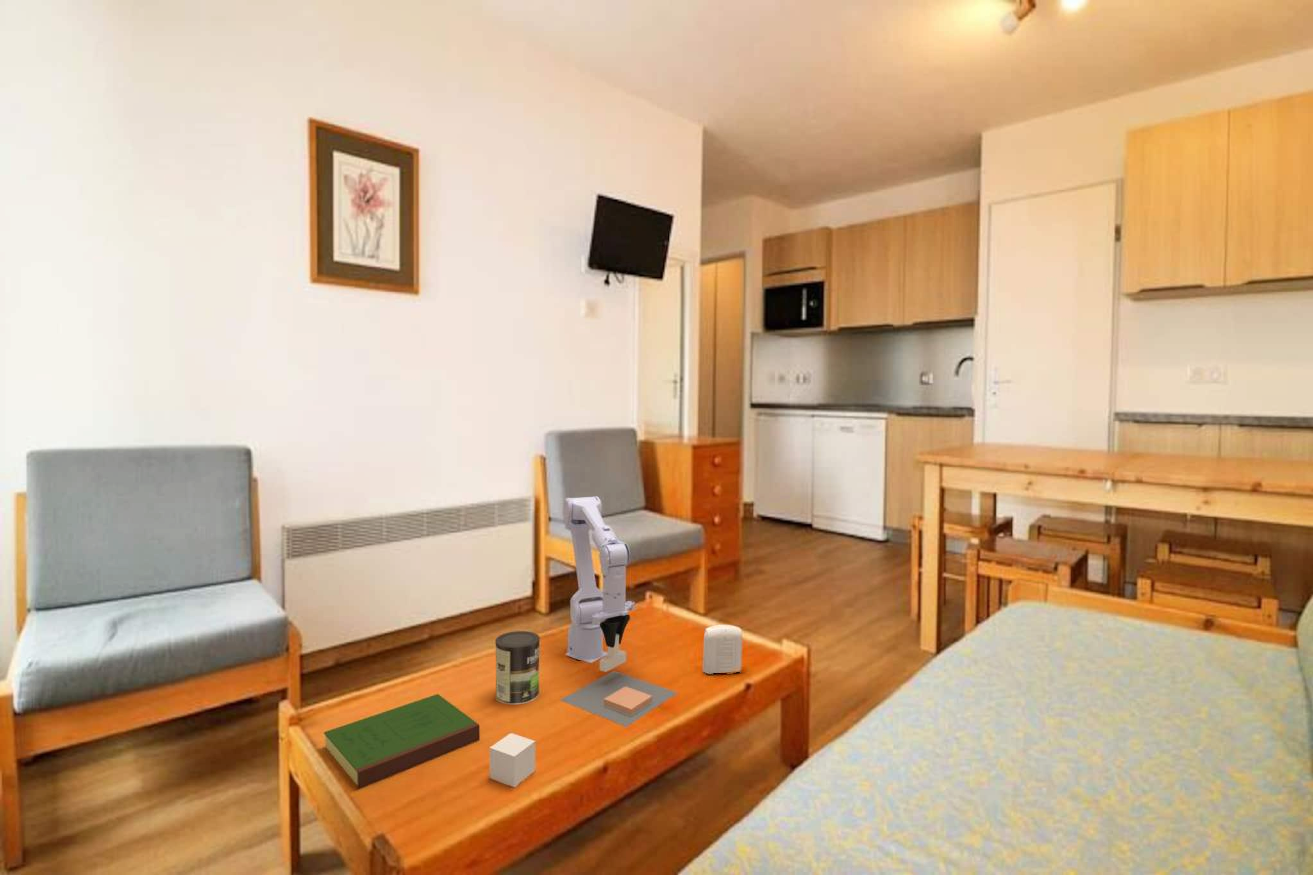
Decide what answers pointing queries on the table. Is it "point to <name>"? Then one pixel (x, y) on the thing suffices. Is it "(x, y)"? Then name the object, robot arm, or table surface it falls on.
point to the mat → (609, 684)
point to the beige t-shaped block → (613, 657)
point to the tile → (628, 701)
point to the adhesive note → (512, 759)
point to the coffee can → (517, 667)
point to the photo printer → (722, 649)
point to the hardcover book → (400, 739)
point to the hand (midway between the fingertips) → (613, 644)
